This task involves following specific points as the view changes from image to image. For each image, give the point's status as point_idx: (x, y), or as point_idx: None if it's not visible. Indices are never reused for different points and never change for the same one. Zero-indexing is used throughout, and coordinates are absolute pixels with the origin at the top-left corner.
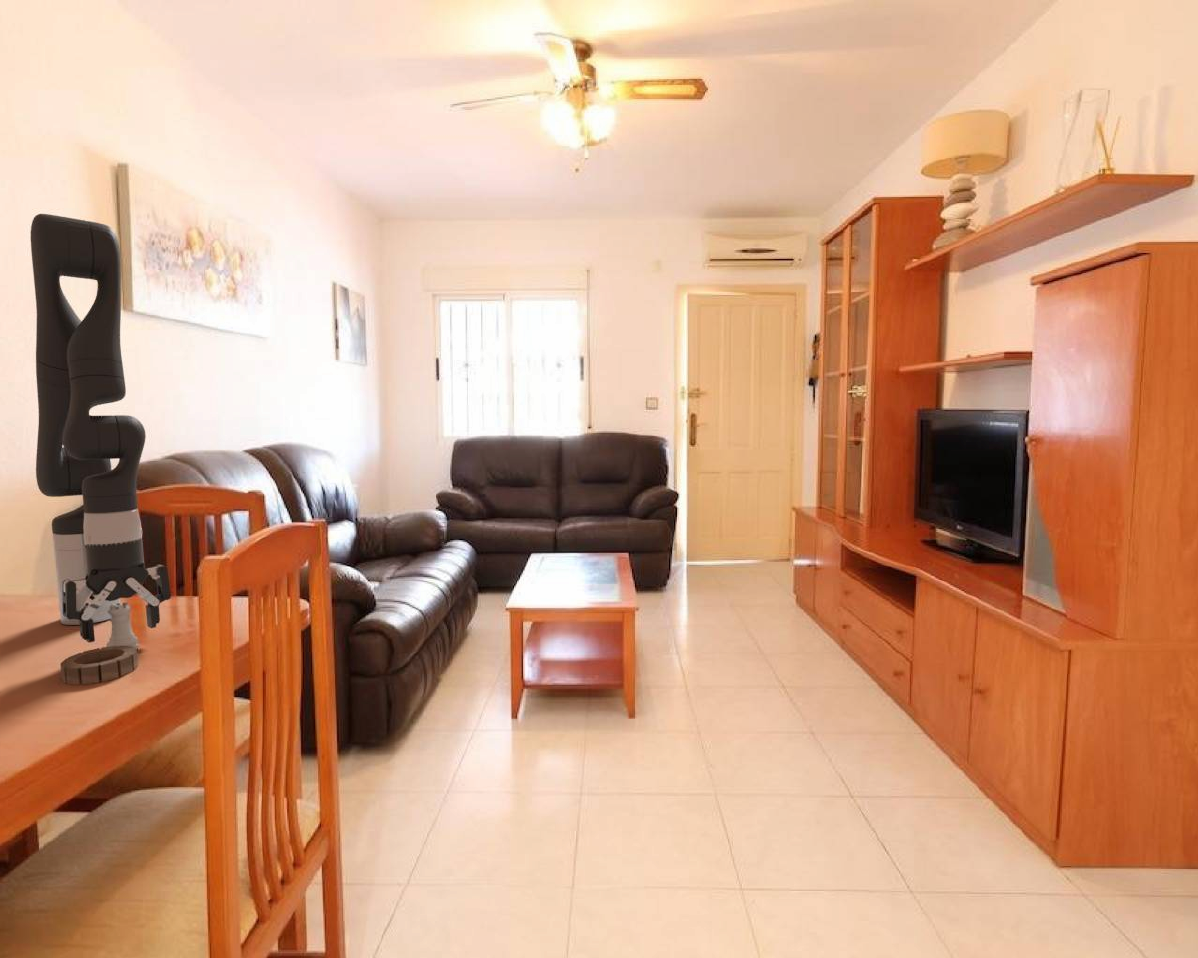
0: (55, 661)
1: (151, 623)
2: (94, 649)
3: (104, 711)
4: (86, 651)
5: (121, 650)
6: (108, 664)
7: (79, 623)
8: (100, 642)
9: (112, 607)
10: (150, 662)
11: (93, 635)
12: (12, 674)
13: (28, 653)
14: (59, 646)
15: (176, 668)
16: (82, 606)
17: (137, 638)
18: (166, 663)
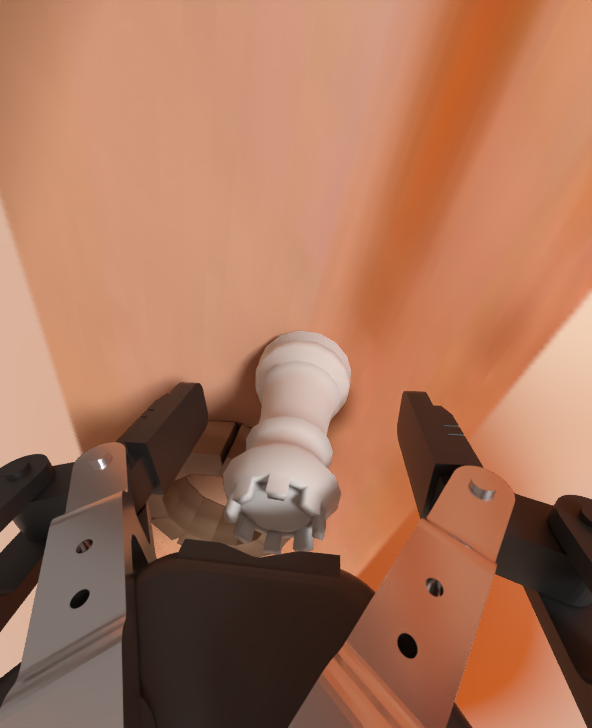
0: (132, 303)
1: (401, 448)
2: (208, 457)
3: None
4: (189, 456)
5: None
6: None
7: (121, 439)
8: (271, 172)
9: (235, 528)
10: None
11: (196, 440)
12: (45, 329)
13: (17, 77)
14: (121, 65)
15: (344, 556)
16: (69, 499)
17: (344, 403)
18: (344, 525)
